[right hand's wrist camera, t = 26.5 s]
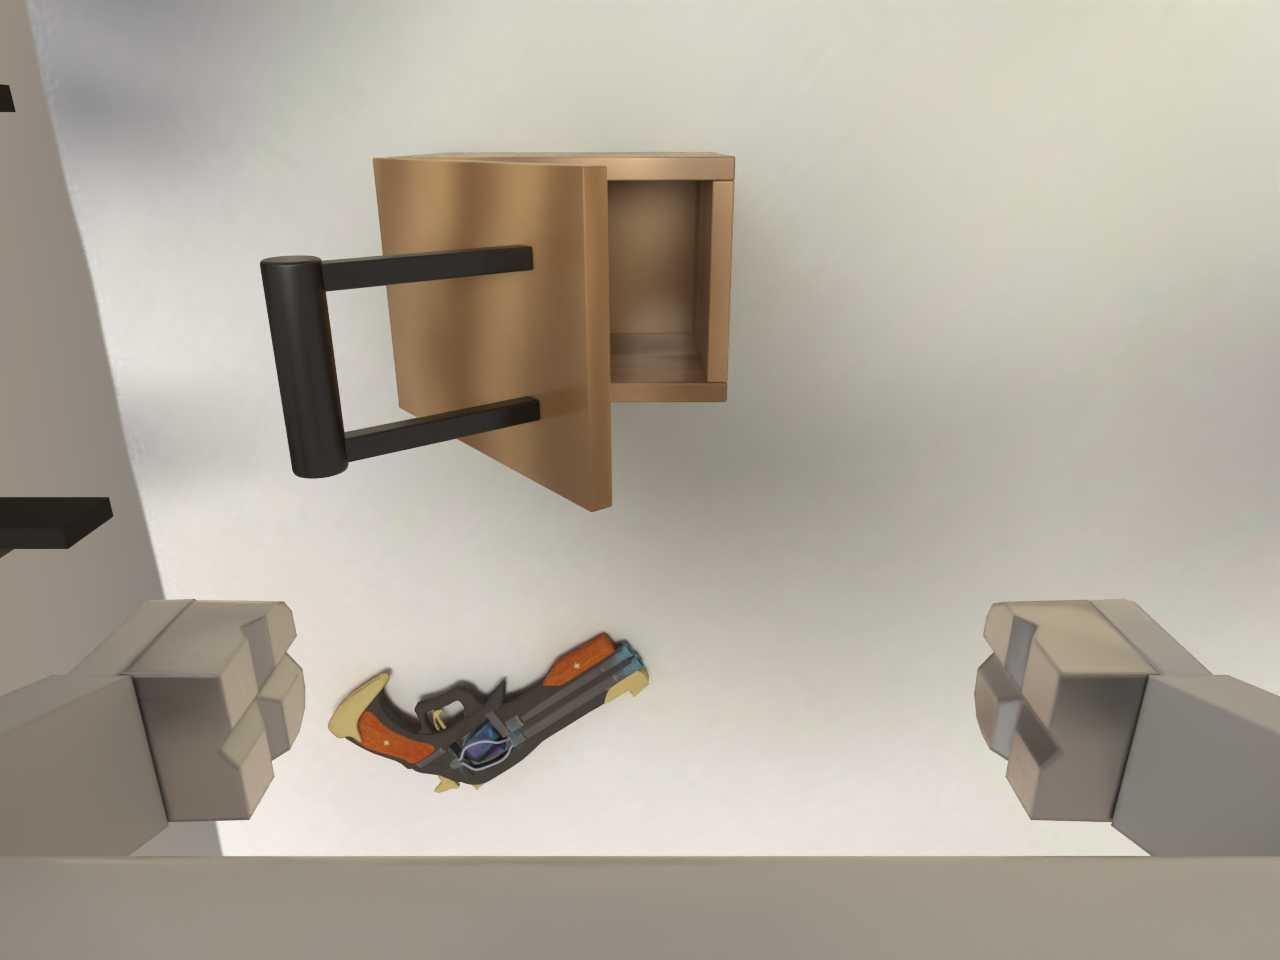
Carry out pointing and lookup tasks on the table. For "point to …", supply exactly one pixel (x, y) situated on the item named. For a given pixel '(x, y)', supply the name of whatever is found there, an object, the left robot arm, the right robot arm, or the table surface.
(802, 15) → the table surface
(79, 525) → the left robot arm
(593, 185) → the lid
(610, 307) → the chest
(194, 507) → the table surface
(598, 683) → the toy gun
